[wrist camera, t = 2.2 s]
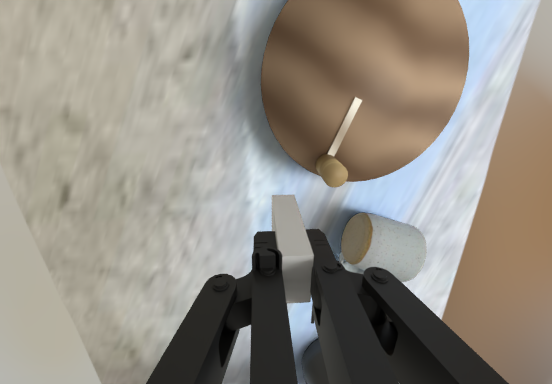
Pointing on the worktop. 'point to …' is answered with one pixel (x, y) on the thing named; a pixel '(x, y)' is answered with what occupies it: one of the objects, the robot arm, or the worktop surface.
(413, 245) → the ceramic mug
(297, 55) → the disc
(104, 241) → the worktop surface
